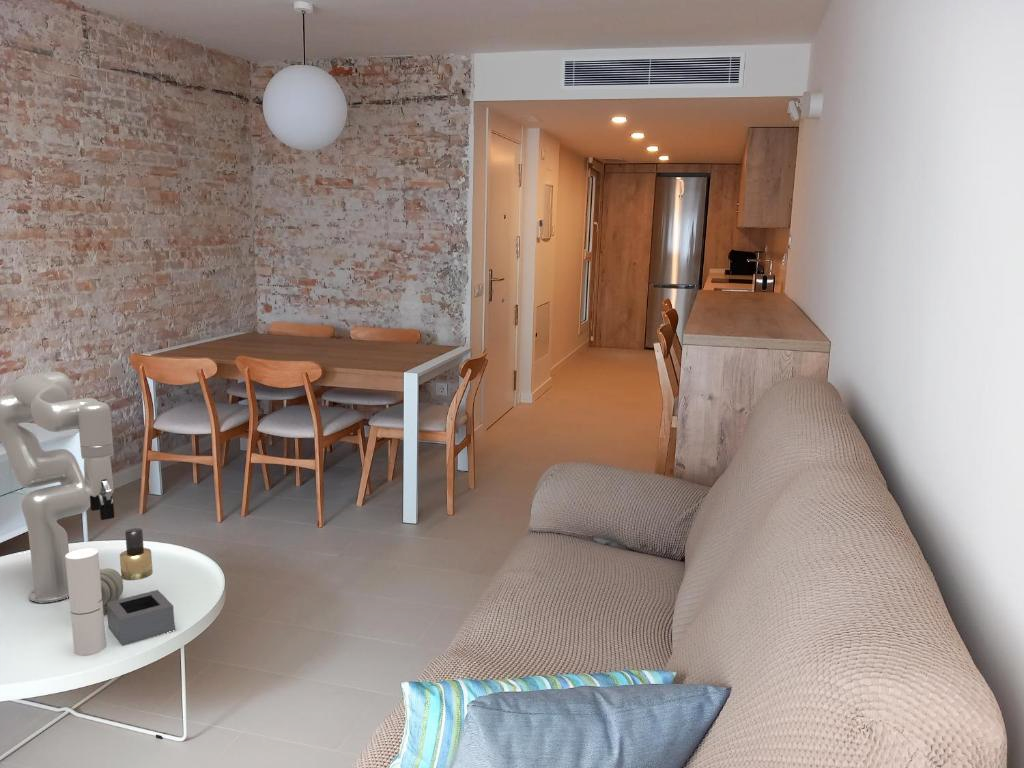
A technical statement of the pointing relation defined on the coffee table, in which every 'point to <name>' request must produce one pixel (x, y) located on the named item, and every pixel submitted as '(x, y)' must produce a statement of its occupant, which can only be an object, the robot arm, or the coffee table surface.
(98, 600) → the cylindrical container
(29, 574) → the coffee table surface
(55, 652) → the coffee table surface
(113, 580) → the toy sheep
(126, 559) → the stepped cylindrical shaft
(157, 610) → the block
